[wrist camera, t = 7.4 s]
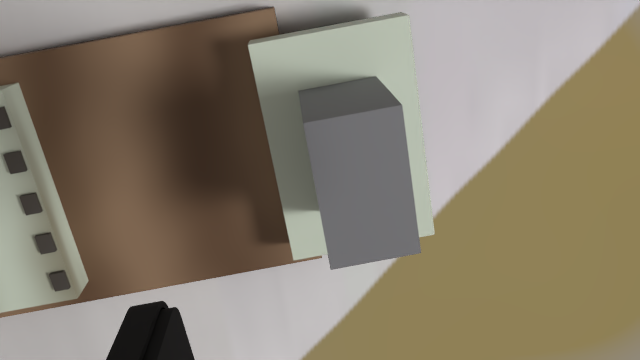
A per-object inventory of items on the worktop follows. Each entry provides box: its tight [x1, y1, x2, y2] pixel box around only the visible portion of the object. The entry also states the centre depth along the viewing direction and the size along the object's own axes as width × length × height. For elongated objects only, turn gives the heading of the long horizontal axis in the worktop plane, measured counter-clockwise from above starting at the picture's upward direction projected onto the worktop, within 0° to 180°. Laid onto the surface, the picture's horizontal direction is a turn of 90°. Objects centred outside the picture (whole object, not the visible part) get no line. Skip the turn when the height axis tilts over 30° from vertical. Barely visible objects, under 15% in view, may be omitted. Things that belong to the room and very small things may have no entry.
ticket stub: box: [248, 12, 434, 270], centre depth 21 cm, size 6×9×6 cm, turn 10°
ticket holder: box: [0, 7, 322, 318], centre depth 24 cm, size 20×11×3 cm, turn 100°
